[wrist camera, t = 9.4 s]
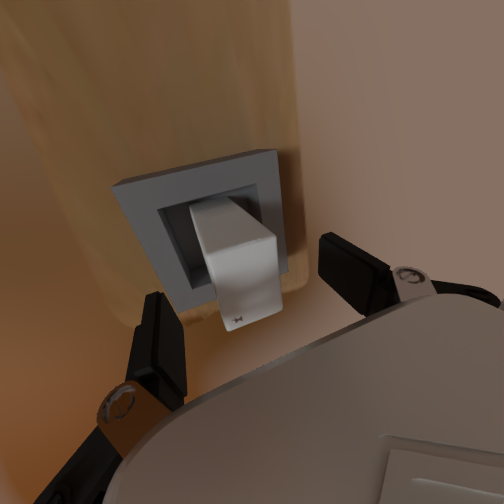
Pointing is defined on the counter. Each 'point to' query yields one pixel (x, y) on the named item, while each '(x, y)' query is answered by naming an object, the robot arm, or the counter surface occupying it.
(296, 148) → the counter surface
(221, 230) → the skincare box
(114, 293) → the counter surface
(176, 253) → the port block
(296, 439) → the robot arm
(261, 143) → the counter surface
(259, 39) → the counter surface
